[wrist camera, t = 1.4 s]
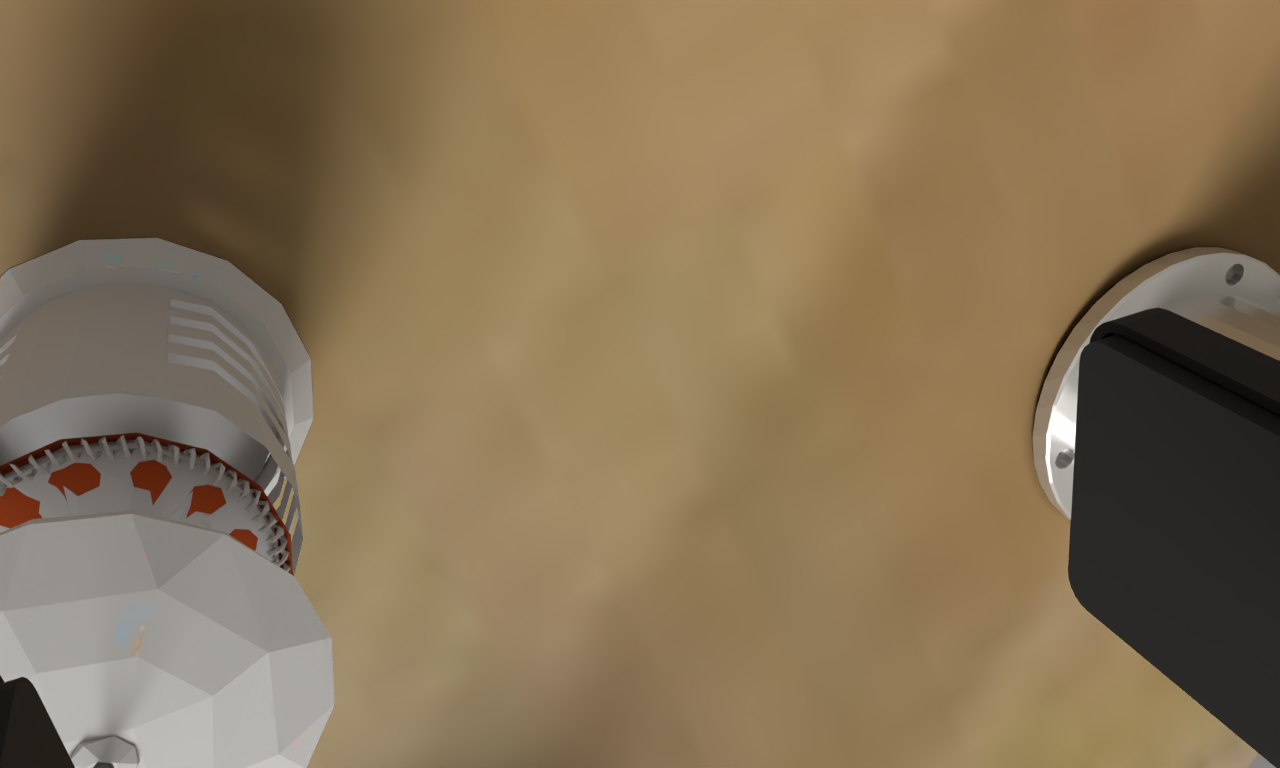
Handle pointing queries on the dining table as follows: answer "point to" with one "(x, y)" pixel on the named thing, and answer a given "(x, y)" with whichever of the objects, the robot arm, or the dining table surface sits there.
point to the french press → (156, 510)
